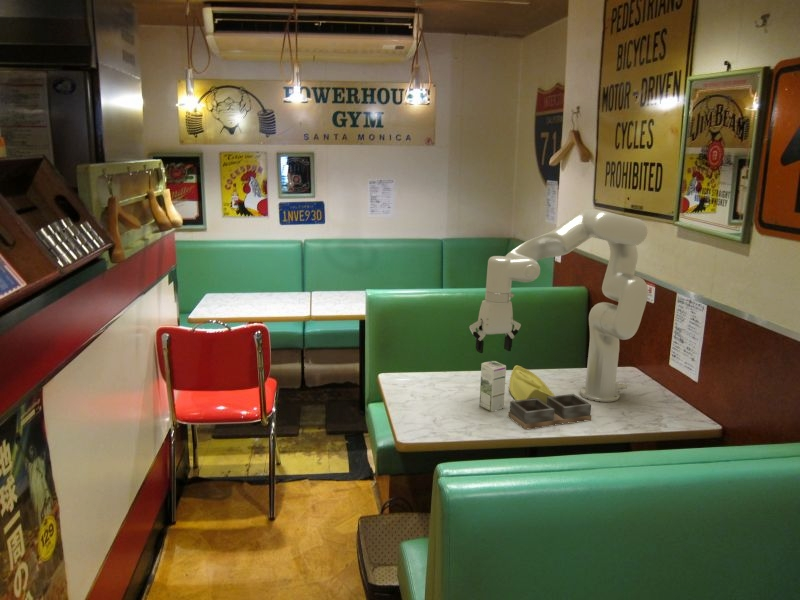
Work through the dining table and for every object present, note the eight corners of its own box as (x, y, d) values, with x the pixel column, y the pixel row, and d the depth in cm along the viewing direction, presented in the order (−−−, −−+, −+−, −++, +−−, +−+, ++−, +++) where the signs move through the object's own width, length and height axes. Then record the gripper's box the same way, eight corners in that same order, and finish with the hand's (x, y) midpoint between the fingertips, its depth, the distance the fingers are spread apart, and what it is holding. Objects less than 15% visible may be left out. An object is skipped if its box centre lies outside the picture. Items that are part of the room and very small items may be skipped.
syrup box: (504, 408, 215) (507, 364, 211) (490, 412, 211) (493, 367, 208) (492, 402, 219) (495, 359, 216) (478, 406, 216) (480, 362, 213)
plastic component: (557, 398, 218) (532, 387, 215) (545, 418, 220) (520, 406, 217) (536, 374, 237) (512, 363, 234) (525, 391, 238) (502, 381, 235)
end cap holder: (572, 408, 216) (573, 393, 215) (591, 420, 207) (592, 404, 206) (508, 416, 208) (509, 401, 207) (524, 429, 199) (526, 413, 198)
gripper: (516, 293, 214) (512, 346, 217) (466, 295, 208) (462, 349, 211) (529, 298, 207) (524, 352, 210) (477, 300, 201) (473, 356, 204)
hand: (493, 351), depth 211 cm, fingers open, 9 cm apart
